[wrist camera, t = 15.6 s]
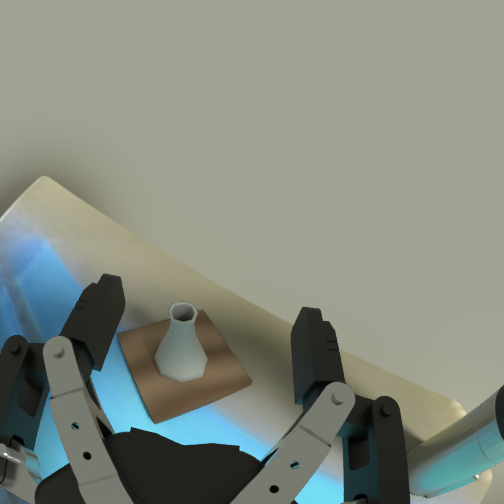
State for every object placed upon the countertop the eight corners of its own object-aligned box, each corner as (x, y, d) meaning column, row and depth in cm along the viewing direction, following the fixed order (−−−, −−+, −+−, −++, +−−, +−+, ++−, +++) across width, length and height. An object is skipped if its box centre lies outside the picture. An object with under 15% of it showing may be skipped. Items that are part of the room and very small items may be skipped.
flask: (155, 337, 36) (152, 286, 30) (205, 339, 38) (213, 289, 32) (153, 382, 30) (146, 337, 25) (210, 383, 32) (219, 340, 27)
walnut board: (251, 384, 34) (252, 381, 34) (154, 424, 27) (154, 421, 26) (202, 313, 43) (203, 309, 42) (118, 337, 35) (117, 333, 35)
